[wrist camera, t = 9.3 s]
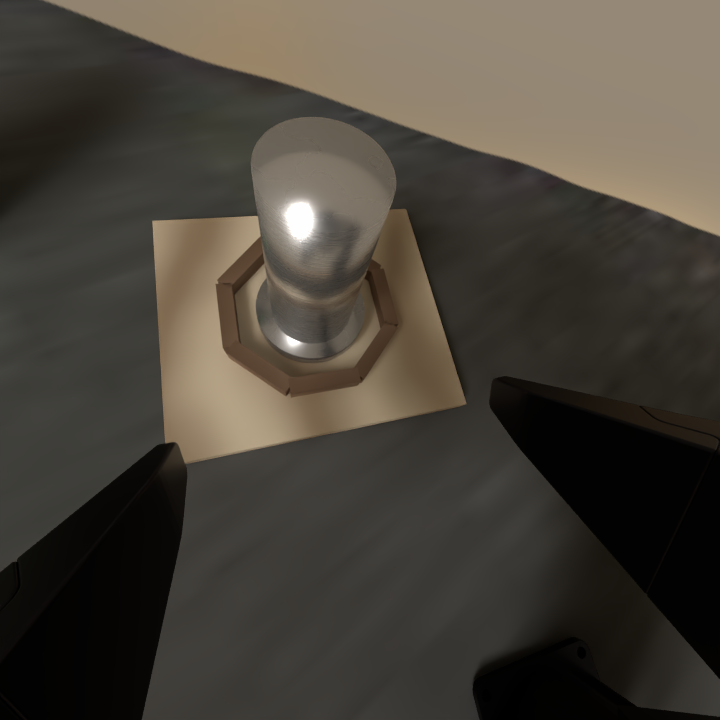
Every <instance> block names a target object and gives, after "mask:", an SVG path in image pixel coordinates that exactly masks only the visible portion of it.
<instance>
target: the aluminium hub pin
mask: <svg viewBox="0 0 720 720" xmlns="http://www.w3.org/2000/svg"><path fill="white" fill-rule="evenodd" d="M251 172H252V179H253V186H254V193H255V200H256V207H257V214H258V221H259V228H260V235H261V242H262V249H263V256H264V263H265V270H266V277H267V278H266V279H265V281H264V282H263V283H262V285H261V287H260V289H259V292H258V294H257V299H256V315H257V319H258V323H259V327H260V330H261V333H262V335H263V336H264V338H265V340H266V341H267V342H268V344H269V345H270V346H271V347H272V348H273V349H274V350H275V351H277V352H278V353H279V354H281V355H283V356H284V357H286V358H288V359H291V360H293V361H297V362H301V363H322V362H327V361H330V360H332V359H335V358H337V357H339V356H340V355H342V354H343V353H345V352H346V351H347V350H348V349H349V348H350V347H351V346H352V344H353V343H354V342H355V340H356V338H357V336H358V334H359V332H360V330H361V328H362V325H363V321H364V315H365V307H364V301H363V298H362V295H361V293H360V289H361V286H362V284H363V281H364V278H365V275H366V273H367V270H368V267H369V264H370V262H371V259H372V256H373V253H374V251H375V248H376V245H377V242H378V240H379V237H380V234H381V231H382V229H383V226H384V223H385V220H386V218H387V215H388V212H389V210H390V207H391V204H392V201H393V199H394V195H395V191H396V175H395V171H394V168H393V165H392V163H391V161H390V159H389V157H388V156H387V154H386V153H385V151H384V150H383V149H382V148H381V147H380V145H379V144H378V143H377V142H376V141H374V140H373V139H372V138H371V137H370V136H368V135H367V134H365V133H364V132H362V131H361V130H359V129H357V128H355V127H353V126H351V125H349V124H346V123H343V122H341V121H337V120H333V119H328V118H322V117H302V118H295V119H291V120H287V121H285V122H282V123H279V124H278V125H276V126H274V127H272V128H271V129H269V130H268V131H267V132H266V133H265V134H264V135H263V136H262V137H261V138H260V139H259V141H258V142H257V144H256V146H255V148H254V150H253V153H252V158H251Z"/></svg>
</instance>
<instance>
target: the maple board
mask: <svg viewBox="0 0 720 720" xmlns="http://www.w3.org/2000/svg"><path fill="white" fill-rule="evenodd" d="M153 238H154V256H155V273H156V290H157V308H158V325H159V343H160V360H161V377H162V395H163V412H164V429H165V443H169V442H176V443H177V444H178V445H179V447H180V450H181V453H182V456H183V459H184V462H185V464H188V463H193V462H198V461H203V460H208V459H212V458H217V457H222V456H227V455H231V454H236V453H241V452H246V451H251V450H255V449H260V448H265V447H270V446H274V445H279V444H284V443H289V442H294V441H298V440H303V439H308V438H313V437H318V436H322V435H327V434H332V433H337V432H341V431H346V430H351V429H356V428H361V427H365V426H370V425H375V424H380V423H384V422H389V421H394V420H399V419H404V418H408V417H413V416H418V415H423V414H427V413H432V412H437V411H442V410H447V409H451V408H456V407H460V406H462V405H465V404H466V401H465V397H464V394H463V391H462V388H461V384H460V381H459V378H458V375H457V372H456V368H455V365H454V362H453V359H452V355H451V352H450V349H449V346H448V343H447V339H446V336H445V333H444V330H443V326H442V323H441V320H440V317H439V314H438V310H437V307H436V304H435V301H434V297H433V294H432V291H431V288H430V285H429V281H428V278H427V275H426V272H425V269H424V265H423V262H422V259H421V256H420V252H419V249H418V246H417V243H416V240H415V236H414V233H413V230H412V227H411V223H410V220H409V217H408V214H407V211H406V209H393V210H389V212H388V215H387V218H386V220H385V223H384V226H383V229H382V231H381V234H380V237H379V240H378V242H377V245H376V248H375V251H374V253H373V256H372V259H371V262H370V264H369V267H368V270H367V273H366V275H365V278H364V281H363V284H362V286H361V289H360V293H361V295H362V298H363V301H364V307H365V315H364V321H363V325H362V328H361V330H360V332H359V334H358V336H357V338H356V340H355V342H354V343H353V344H352V346H351V347H350V348H349V349H348V350H347V351H346V352H345V353H343V354H342V355H340V356H339V357H337V358H335V359H332V360H330V361H327V362H322V363H301V362H297V361H293V360H291V359H288V358H286V357H284V356H283V355H281V354H279V353H278V352H277V351H275V350H274V349H273V348H272V347H271V346H270V345H269V344H268V342H267V341H266V340H265V338H264V336H263V335H262V333H261V330H260V327H259V323H258V319H257V315H256V299H257V294H258V292H259V289H260V287H261V285H262V283H263V282H264V281H265V279H266V278H267V277H266V270H265V263H264V256H263V249H262V242H261V235H260V228H259V221H258V216H247V217H226V218H206V219H185V220H164V221H153Z"/></svg>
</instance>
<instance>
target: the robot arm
mask: <svg viewBox="0 0 720 720" xmlns="http://www.w3.org/2000/svg"><path fill="white" fill-rule="evenodd" d="M489 404H490V408H491V410H492V411H493V413H494V414H495V415H496V417H497V418H498V420H499V421H500V422H501V424H502V425H503V427H504V428H505V429H506V431H507V432H508V434H509V435H510V436H511V438H512V439H513V441H514V442H515V443H516V445H517V446H518V447H519V448H520V450H521V451H522V452H523V453H524V454H525V456H526V457H527V458H528V459H529V460H530V461H531V462H532V464H533V465H534V466H535V467H536V468H537V469H538V470H539V472H540V473H541V474H542V475H543V476H544V477H545V479H546V480H547V481H548V482H549V483H550V484H551V485H552V487H553V488H554V489H555V490H556V491H557V492H558V493H559V495H560V496H561V497H562V498H563V499H564V500H565V501H566V503H567V504H568V505H569V506H570V507H571V508H572V510H573V511H574V512H575V513H576V514H577V515H578V516H579V518H580V519H581V520H582V521H583V522H584V523H585V524H586V526H587V527H588V528H589V529H590V530H591V531H592V533H593V534H594V535H595V536H596V537H597V538H598V539H599V541H600V542H601V543H602V544H603V545H604V546H605V547H606V549H607V550H608V551H609V552H610V553H611V554H612V555H613V557H614V558H615V559H616V560H617V561H618V562H619V564H620V565H621V566H622V567H623V568H624V569H625V570H626V572H627V573H628V574H629V575H630V576H631V577H632V578H633V580H634V581H635V582H636V583H637V584H638V585H639V586H640V588H641V589H642V590H643V591H644V592H645V593H646V594H647V596H648V597H649V598H650V600H651V601H652V602H653V603H654V604H655V605H656V606H657V608H658V609H659V610H660V611H661V612H662V613H663V614H664V616H665V617H666V618H667V619H668V620H669V621H670V623H671V624H672V625H673V626H674V627H675V628H676V629H677V631H678V632H679V633H680V634H681V635H682V636H683V637H684V639H685V640H686V641H687V642H688V643H689V644H690V646H691V647H692V648H693V649H694V650H695V651H696V652H697V654H698V655H699V656H700V657H701V658H702V659H703V660H704V662H705V663H706V664H707V665H708V666H709V667H710V668H711V670H712V671H713V672H714V673H715V674H716V675H717V677H718V678H719V679H720V422H719V421H713V420H708V419H703V418H698V417H692V416H687V415H682V414H677V413H673V412H668V411H663V410H658V409H654V408H649V407H645V406H638V405H635V404H631V403H626V402H622V401H617V400H613V399H608V398H604V397H599V396H594V395H590V394H585V393H581V392H576V391H572V390H567V389H563V388H558V387H554V386H549V385H544V384H540V383H535V382H531V381H526V380H522V379H517V378H513V377H508V376H503V377H498V378H495V379H493V381H492V383H491V391H490V399H489ZM186 485H187V468H186V465H185V462H184V459H183V456H182V453H181V450H180V447H179V445H178V444H177V443H176V442H169V443H164V444H159V445H157V446H156V447H154V448H153V449H152V450H151V451H150V452H148V453H147V454H146V455H145V456H143V457H142V458H141V459H140V460H138V461H137V462H136V463H135V464H133V465H132V466H131V467H130V468H129V469H127V470H126V471H125V472H124V473H122V474H121V475H120V476H119V477H117V478H116V479H115V480H114V481H112V482H111V483H110V484H109V485H108V486H106V487H105V488H104V489H103V490H101V491H100V492H99V493H98V494H96V495H95V496H94V497H93V498H91V499H90V500H89V501H88V502H87V503H85V504H84V505H83V506H82V507H80V508H79V509H78V510H77V511H75V512H74V513H73V514H72V515H70V516H69V517H68V518H67V519H65V520H64V521H63V522H62V523H61V524H59V525H58V526H57V527H56V528H54V529H53V530H52V531H51V532H49V533H48V534H47V535H46V536H44V537H43V538H42V539H41V540H40V541H38V542H37V543H36V544H35V545H33V546H32V547H31V548H30V549H28V550H27V551H26V552H25V553H23V554H22V555H21V556H20V557H19V558H18V559H17V562H12V563H11V564H10V565H8V566H7V567H6V568H5V569H4V570H2V571H1V572H0V720H142V716H143V711H144V707H145V702H146V697H147V693H148V688H149V684H150V679H151V674H152V670H153V665H154V661H155V656H156V651H157V647H158V642H159V638H160V633H161V629H162V624H163V619H164V615H165V610H166V606H167V601H168V596H169V592H170V587H171V583H172V578H173V573H174V569H175V564H176V560H177V555H178V550H179V546H180V541H181V535H182V528H183V518H184V507H185V496H186ZM578 648H580V651H579V653H578V654H577V649H578ZM484 689H487V694H486V695H485V696H484V697H482V692H483V690H484ZM473 696H474V700H475V703H476V707H477V711H478V715H479V719H480V720H720V717H716V716H708V715H700V714H691V713H683V712H675V711H666V710H658V709H649V708H641V707H637V706H635V705H634V704H632V703H631V702H629V701H628V700H627V699H625V698H624V697H622V696H621V695H619V694H618V693H616V692H615V691H613V690H612V689H611V688H609V687H608V686H606V685H605V684H603V683H602V682H600V679H599V676H598V673H597V670H596V667H595V664H594V661H593V658H592V655H591V653H590V650H589V648H588V646H587V644H586V643H585V642H583V641H582V640H580V639H578V638H576V637H571V638H569V639H567V640H565V641H562V642H560V643H558V644H555V645H553V646H551V647H548V648H546V649H544V650H541V651H539V652H537V653H535V654H532V655H530V656H528V657H525V658H523V659H521V660H518V661H516V662H514V663H511V664H509V665H507V666H505V667H502V668H500V669H498V670H495V671H493V672H491V673H488V674H486V675H484V676H482V677H479V678H478V679H477V680H476V681H475V682H474V684H473Z"/></svg>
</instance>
